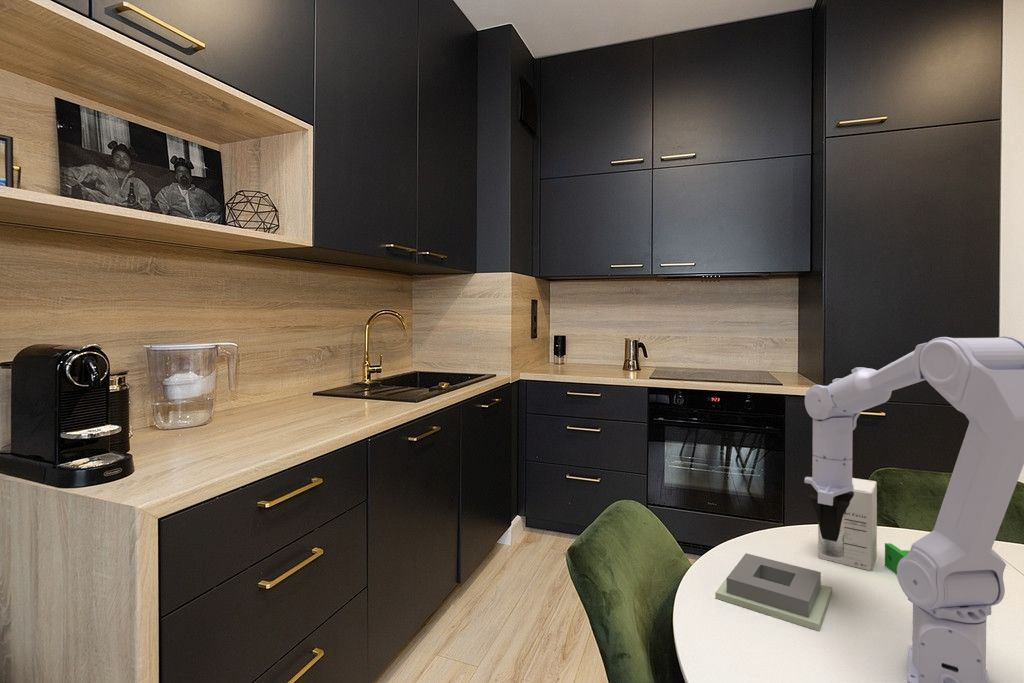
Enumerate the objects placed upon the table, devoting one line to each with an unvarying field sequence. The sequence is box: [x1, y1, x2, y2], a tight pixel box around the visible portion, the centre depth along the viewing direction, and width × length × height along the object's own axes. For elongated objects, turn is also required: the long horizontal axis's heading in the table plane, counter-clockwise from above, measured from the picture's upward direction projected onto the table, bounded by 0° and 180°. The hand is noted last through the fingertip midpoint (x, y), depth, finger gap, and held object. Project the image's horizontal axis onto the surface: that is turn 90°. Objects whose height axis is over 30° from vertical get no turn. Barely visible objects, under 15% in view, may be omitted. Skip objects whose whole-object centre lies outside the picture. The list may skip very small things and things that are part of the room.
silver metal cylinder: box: [820, 515, 844, 558], centre depth 86 cm, size 4×4×8 cm
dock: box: [714, 552, 833, 632], centre depth 85 cm, size 14×15×4 cm
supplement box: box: [817, 477, 878, 572], centre depth 100 cm, size 9×9×15 cm
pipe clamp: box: [884, 542, 910, 576], centre depth 90 cm, size 11×4×5 cm, turn 173°
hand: (831, 535), depth 86 cm, fingers closed on silver metal cylinder, 3 cm apart
